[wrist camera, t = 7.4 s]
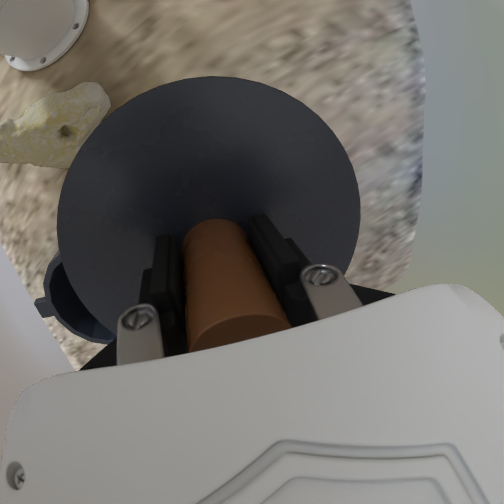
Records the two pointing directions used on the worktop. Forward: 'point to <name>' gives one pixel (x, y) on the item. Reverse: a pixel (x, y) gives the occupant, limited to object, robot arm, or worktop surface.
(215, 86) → the lid
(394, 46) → the worktop surface
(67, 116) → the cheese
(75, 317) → the pot
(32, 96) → the worktop surface
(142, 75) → the worktop surface
